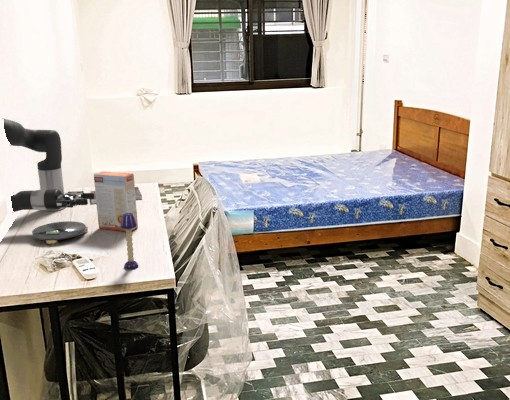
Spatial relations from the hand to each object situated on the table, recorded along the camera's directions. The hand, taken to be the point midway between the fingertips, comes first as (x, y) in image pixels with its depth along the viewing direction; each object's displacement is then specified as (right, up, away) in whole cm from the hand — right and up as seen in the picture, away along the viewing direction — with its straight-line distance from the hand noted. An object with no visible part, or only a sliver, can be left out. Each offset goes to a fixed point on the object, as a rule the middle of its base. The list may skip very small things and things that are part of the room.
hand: (90, 198), depth 200 cm
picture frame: (-3, 0, +49) cm, 49 cm away
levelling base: (-10, -13, -5) cm, 17 cm away
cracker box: (+9, -11, +3) cm, 15 cm away
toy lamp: (+23, -21, -34) cm, 46 cm away
